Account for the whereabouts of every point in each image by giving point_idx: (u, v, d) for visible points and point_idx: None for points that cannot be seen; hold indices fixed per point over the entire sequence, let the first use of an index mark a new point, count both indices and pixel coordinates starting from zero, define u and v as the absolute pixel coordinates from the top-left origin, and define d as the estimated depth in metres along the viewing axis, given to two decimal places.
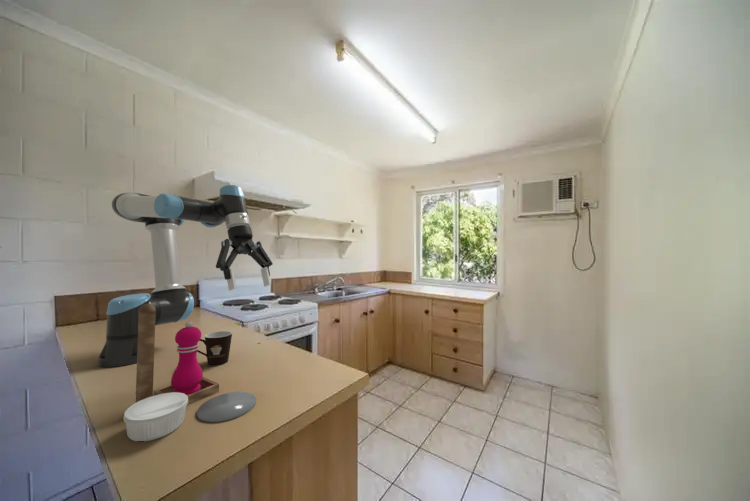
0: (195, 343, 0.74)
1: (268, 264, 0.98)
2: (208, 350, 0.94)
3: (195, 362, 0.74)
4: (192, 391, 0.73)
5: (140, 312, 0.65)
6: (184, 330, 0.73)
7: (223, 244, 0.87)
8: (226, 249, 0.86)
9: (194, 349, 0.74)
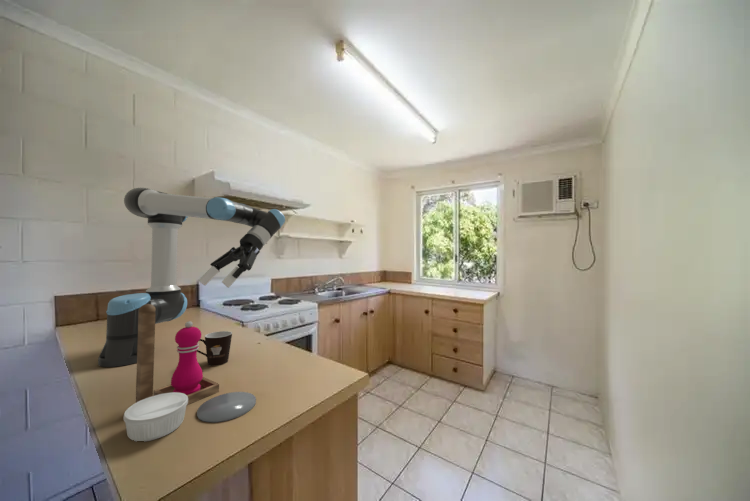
0: (195, 343, 0.74)
1: None
2: (208, 350, 0.94)
3: (195, 362, 0.74)
4: (192, 391, 0.73)
5: (140, 312, 0.65)
6: (184, 330, 0.73)
7: (255, 251, 0.93)
8: None
9: (194, 349, 0.74)
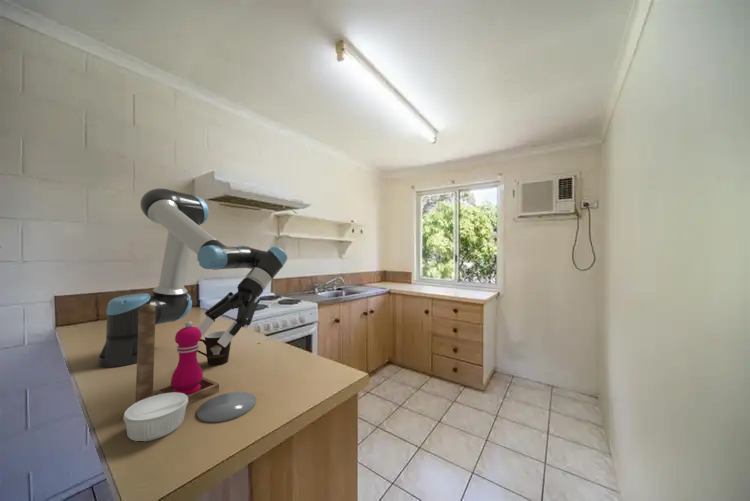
0: (195, 343, 0.74)
1: None
2: (208, 350, 0.94)
3: (195, 362, 0.74)
4: (192, 391, 0.73)
5: (140, 312, 0.65)
6: (184, 330, 0.73)
7: (255, 300, 0.84)
8: None
9: (194, 349, 0.74)
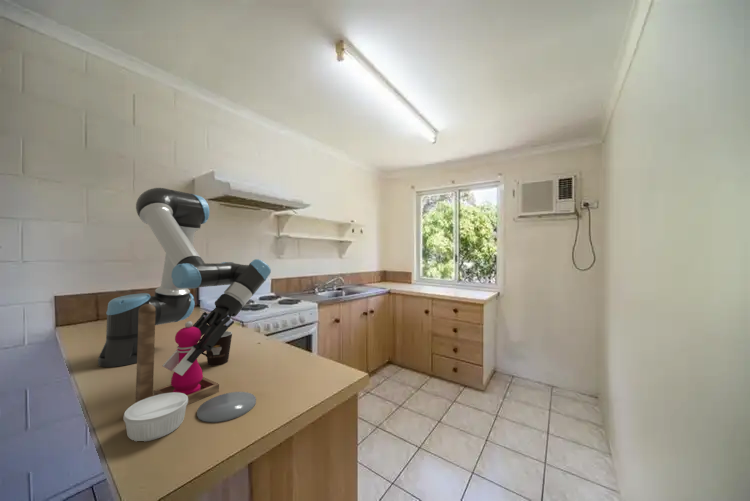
0: (195, 343, 0.74)
1: None
2: None
3: (195, 362, 0.74)
4: (192, 391, 0.73)
5: (140, 312, 0.65)
6: (184, 330, 0.73)
7: (226, 323, 0.78)
8: None
9: None
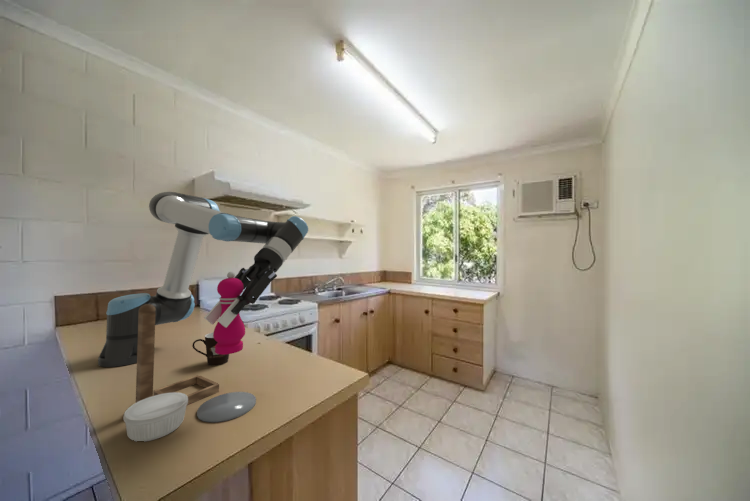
0: (238, 295, 0.69)
1: None
2: (208, 350, 0.94)
3: (238, 315, 0.69)
4: (236, 345, 0.67)
5: (140, 312, 0.65)
6: (227, 280, 0.67)
7: (270, 276, 0.72)
8: None
9: None
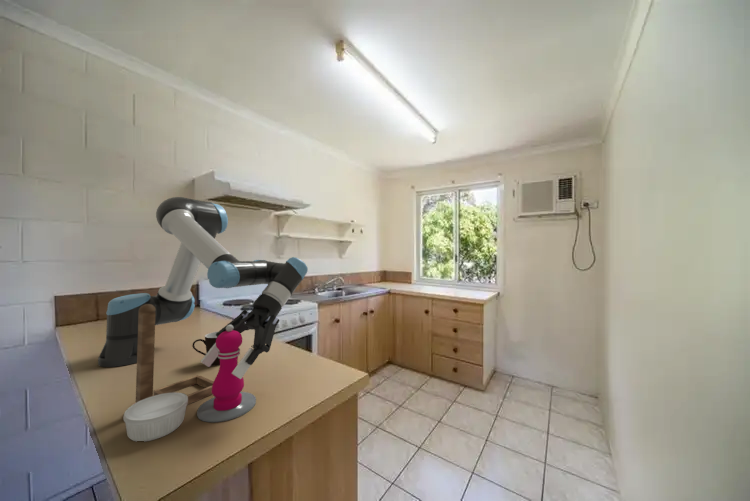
0: (237, 348, 0.68)
1: None
2: (208, 350, 0.94)
3: None
4: (234, 400, 0.67)
5: (140, 312, 0.65)
6: (225, 334, 0.67)
7: (274, 321, 0.72)
8: None
9: (236, 355, 0.68)
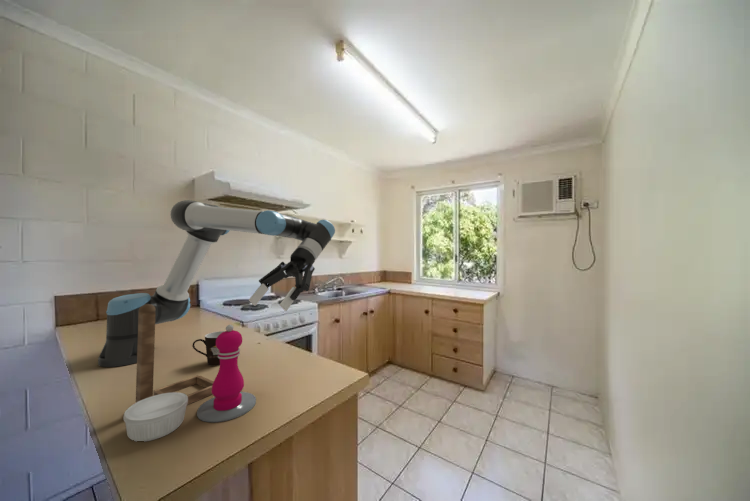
0: (237, 348, 0.68)
1: None
2: (208, 350, 0.94)
3: (237, 369, 0.68)
4: (234, 400, 0.67)
5: (140, 312, 0.65)
6: (225, 334, 0.67)
7: (311, 268, 0.84)
8: None
9: (236, 355, 0.68)
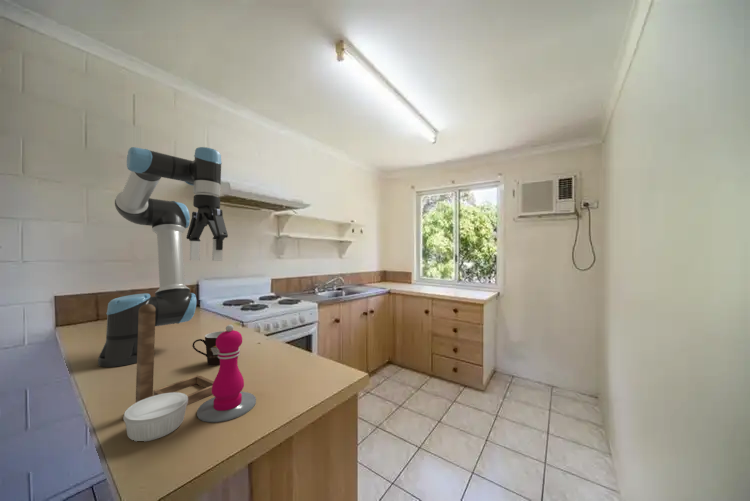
0: (237, 348, 0.68)
1: None
2: (208, 350, 0.94)
3: (237, 369, 0.68)
4: (234, 400, 0.67)
5: (140, 312, 0.65)
6: (225, 334, 0.67)
7: (218, 213, 0.85)
8: None
9: (236, 355, 0.68)
